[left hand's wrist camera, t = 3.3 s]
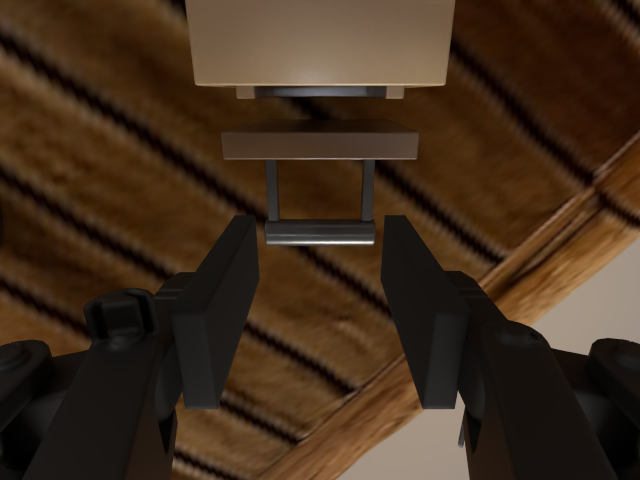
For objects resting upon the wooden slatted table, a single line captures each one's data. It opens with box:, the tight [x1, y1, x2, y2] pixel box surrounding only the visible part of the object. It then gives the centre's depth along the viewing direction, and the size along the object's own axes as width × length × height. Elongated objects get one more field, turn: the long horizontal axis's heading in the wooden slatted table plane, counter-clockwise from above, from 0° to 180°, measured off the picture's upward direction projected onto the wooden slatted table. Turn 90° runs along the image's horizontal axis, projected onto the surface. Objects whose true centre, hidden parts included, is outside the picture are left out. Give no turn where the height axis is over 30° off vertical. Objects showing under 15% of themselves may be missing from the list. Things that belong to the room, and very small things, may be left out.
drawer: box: [221, 86, 420, 246], centre depth 19 cm, size 22×9×9 cm, turn 0°
